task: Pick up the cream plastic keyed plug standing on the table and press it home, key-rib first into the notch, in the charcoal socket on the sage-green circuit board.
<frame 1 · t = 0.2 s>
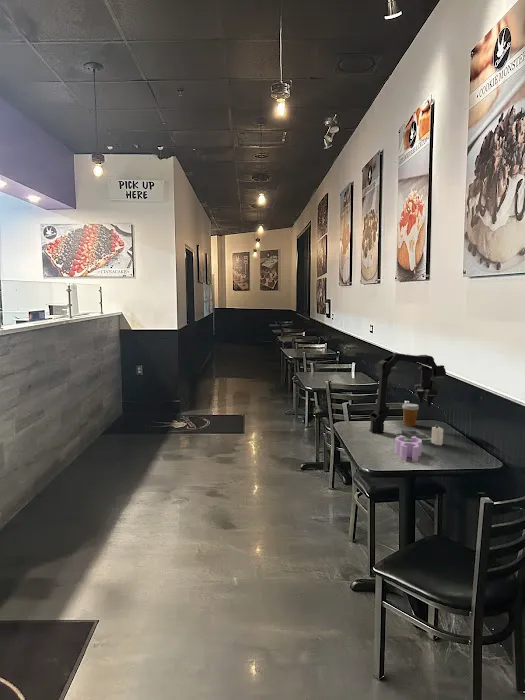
hand: (424, 405, 303), 15 cm above the table, tool pointing down, fingers open, 9 cm apart
header socket: (413, 437, 289), resting on circuit board
disposable coffee cup: (409, 425, 317), on the table
circuit board: (413, 437, 289), on the table
keyed plug: (436, 443, 279), on the table
clip: (408, 455, 259), on the table
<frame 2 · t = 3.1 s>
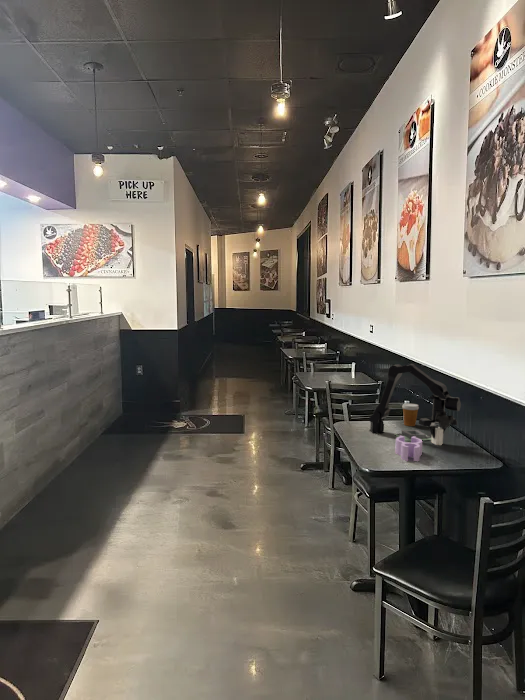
hand: (437, 437, 279), 3 cm above the table, tool pointing down, fingers closed on keyed plug, 4 cm apart
keyed plug: (436, 443, 279), on the table, touching gripper
everything else where it was.
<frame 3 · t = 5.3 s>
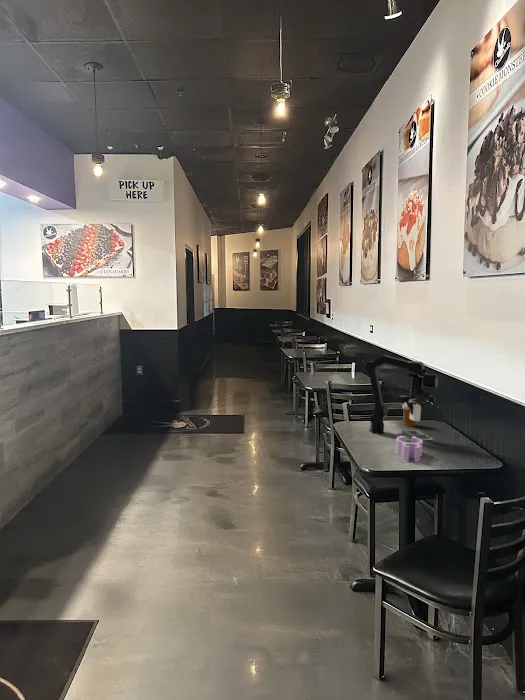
hand: (414, 414, 288), 13 cm above the table, tool pointing down, fingers closed on keyed plug, 4 cm apart
keyed plug: (414, 419, 288), point 10 cm above the table, touching gripper
everything else where it was.
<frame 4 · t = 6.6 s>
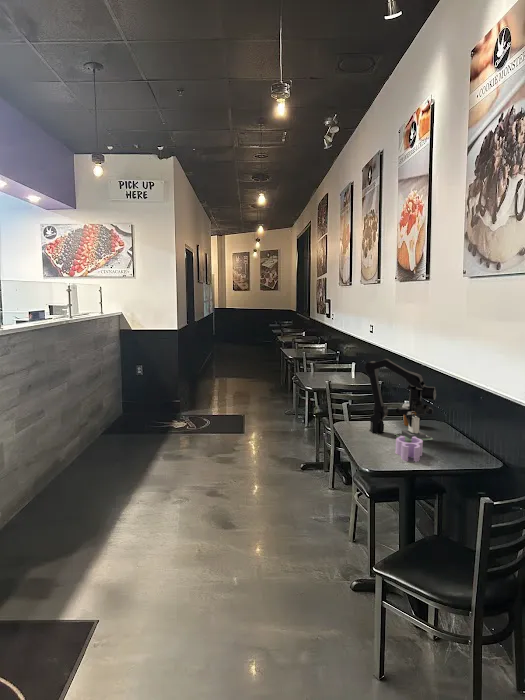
hand: (413, 426, 289), 6 cm above the table, tool pointing down, fingers closed on keyed plug, 4 cm apart
keyed plug: (413, 431, 289), point 3 cm above the table, touching gripper
everything else where it was.
when the fingers open (4 cm above the table, at t = 7.6 s): keyed plug stays where it is, resting on circuit board.
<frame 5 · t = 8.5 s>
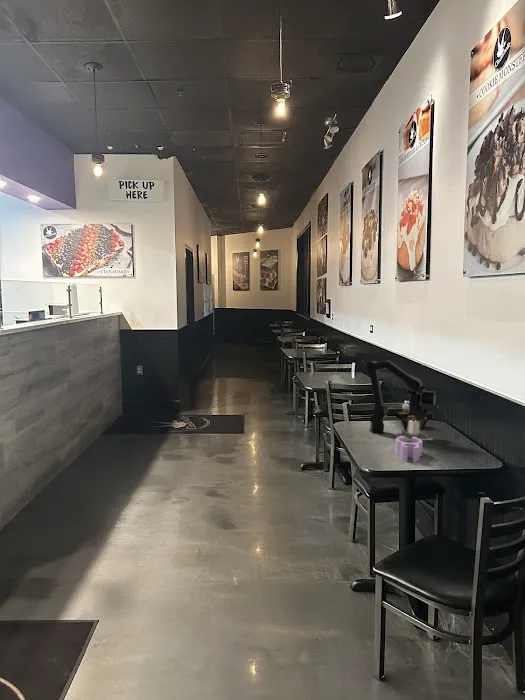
hand: (413, 431, 289), 4 cm above the table, tool pointing down, fingers open, 9 cm apart
keyed plug: (413, 436, 289), point 1 cm above the table, touching circuit board
everything else where it was.
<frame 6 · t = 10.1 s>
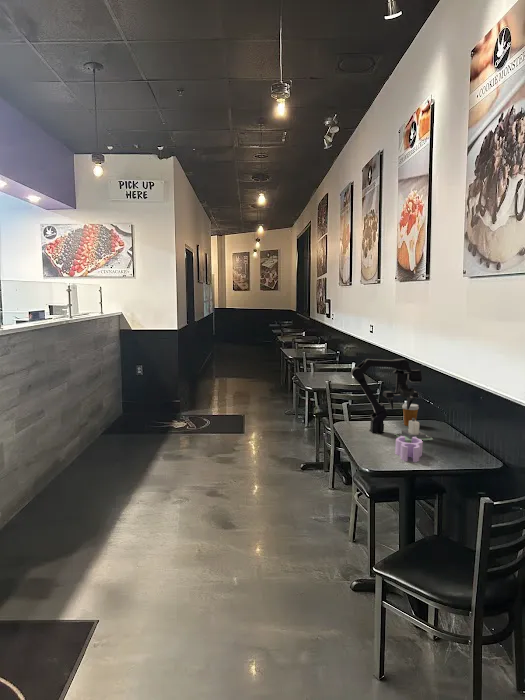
hand: (399, 409, 298), 13 cm above the table, tool pointing down, fingers open, 9 cm apart
nothing on the table moved.
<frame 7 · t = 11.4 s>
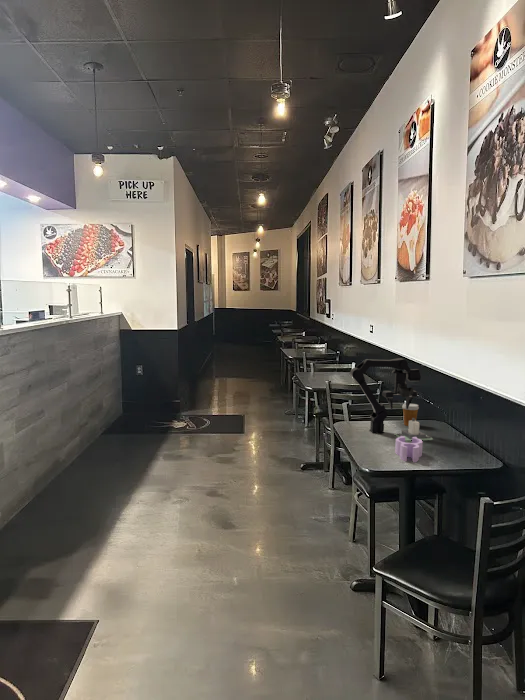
hand: (399, 409, 299), 13 cm above the table, tool pointing down, fingers open, 9 cm apart
at the end: keyed plug 0.0 cm off-centre on the header socket, point 0.8 cm above the header socket's base; keyed plug tilted 0°; the gripper is holding nothing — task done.
